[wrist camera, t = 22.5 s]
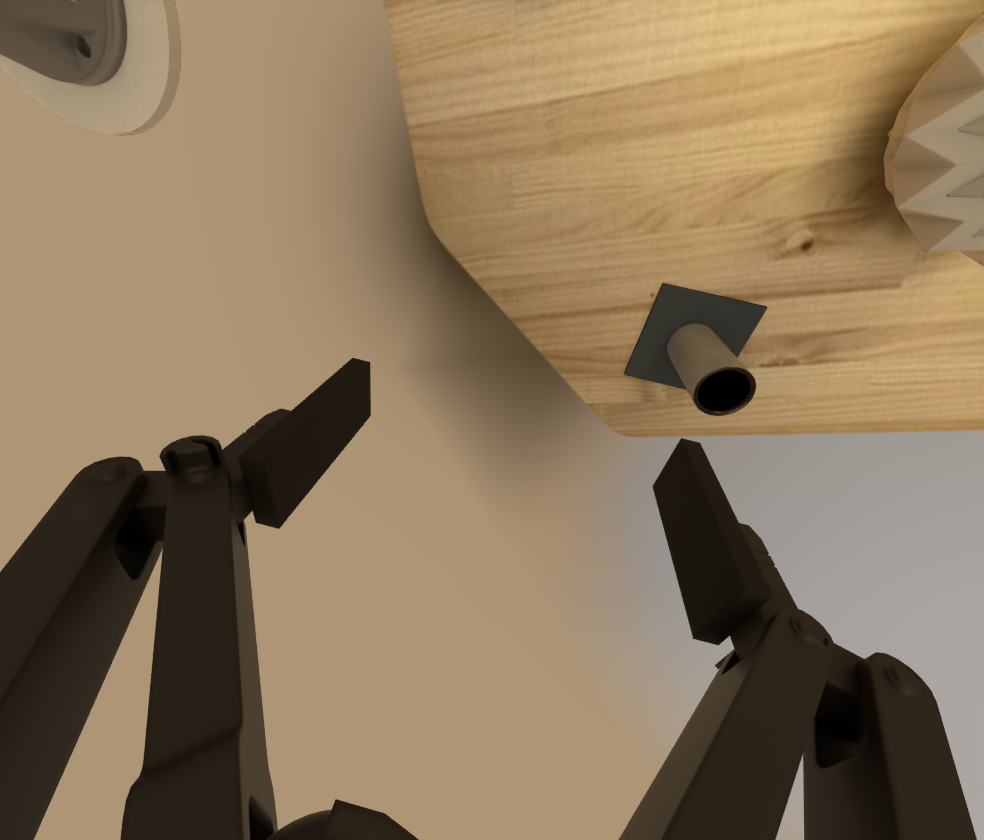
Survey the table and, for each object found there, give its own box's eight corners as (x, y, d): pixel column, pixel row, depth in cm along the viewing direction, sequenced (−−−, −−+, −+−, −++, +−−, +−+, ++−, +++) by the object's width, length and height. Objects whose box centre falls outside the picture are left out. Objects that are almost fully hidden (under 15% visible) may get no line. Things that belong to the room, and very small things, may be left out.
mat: (623, 373, 42) (624, 374, 42) (662, 282, 36) (663, 283, 36) (712, 394, 42) (713, 396, 41) (765, 306, 36) (767, 307, 36)
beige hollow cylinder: (671, 322, 38) (700, 366, 29) (720, 322, 37) (765, 367, 29) (662, 364, 40) (687, 415, 32) (708, 364, 39) (746, 417, 31)
